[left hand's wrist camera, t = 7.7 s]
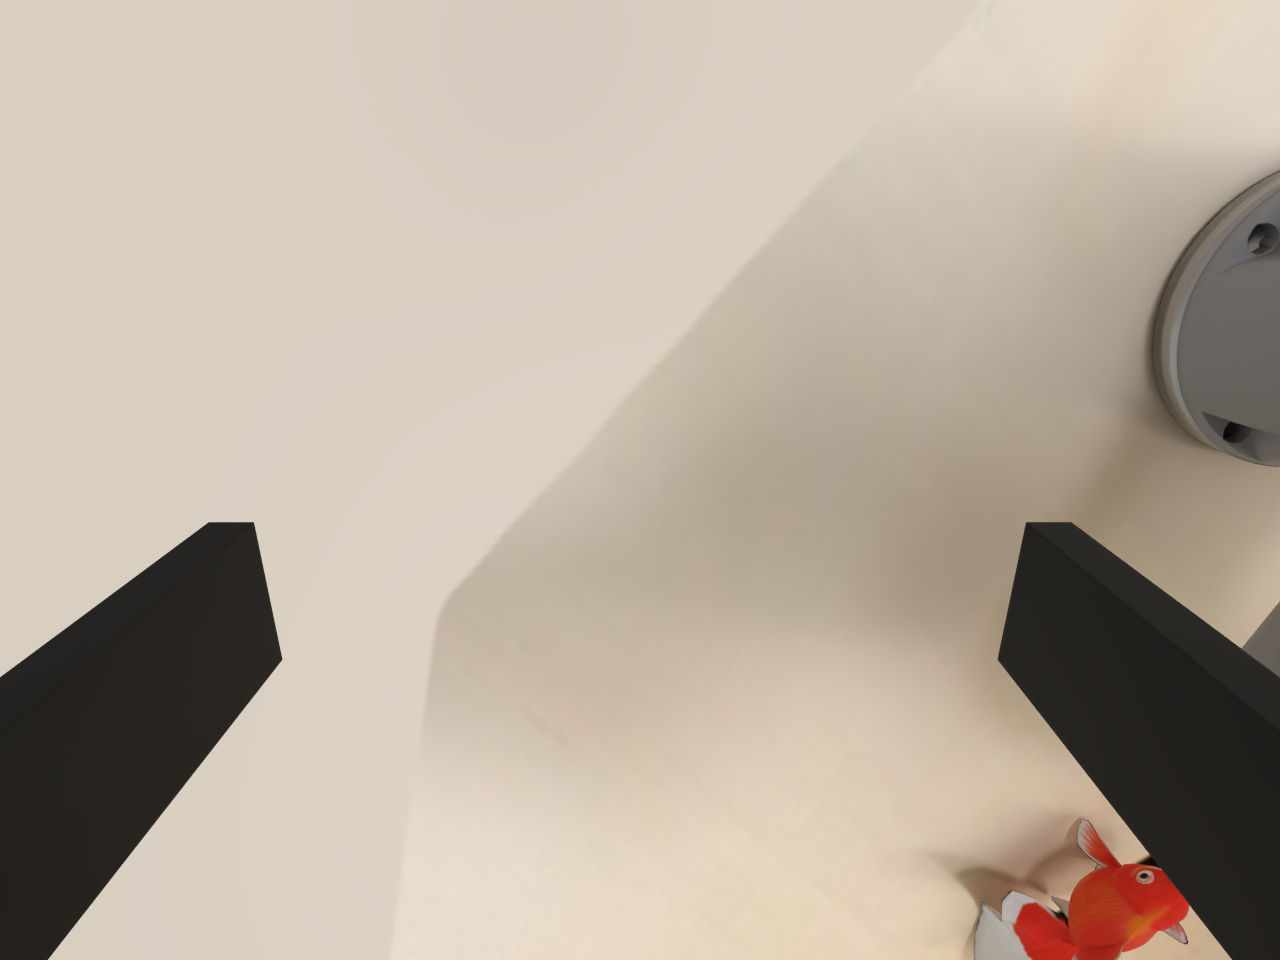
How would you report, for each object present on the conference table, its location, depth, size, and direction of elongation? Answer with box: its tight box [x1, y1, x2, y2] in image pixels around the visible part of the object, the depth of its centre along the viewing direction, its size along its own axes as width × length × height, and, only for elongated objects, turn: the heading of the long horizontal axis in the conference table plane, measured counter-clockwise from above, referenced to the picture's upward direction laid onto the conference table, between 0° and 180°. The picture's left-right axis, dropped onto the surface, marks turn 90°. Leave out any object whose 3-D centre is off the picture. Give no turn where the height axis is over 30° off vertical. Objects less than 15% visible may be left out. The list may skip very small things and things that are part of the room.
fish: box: [974, 820, 1189, 960], centre depth 48 cm, size 11×16×10 cm
